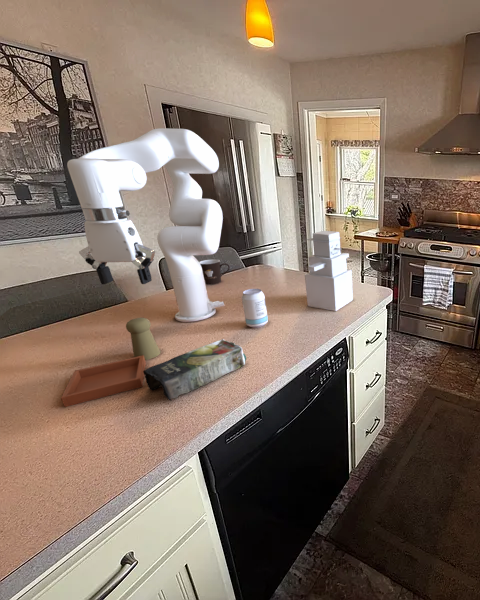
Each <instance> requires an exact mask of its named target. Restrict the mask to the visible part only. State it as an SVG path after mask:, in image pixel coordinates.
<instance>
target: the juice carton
mask: <svg viewBox="0 0 480 600" xmlns="http://www.w3.org/2000/svg"><path fill="white" fill-rule="evenodd" d="M246 361H247V355H246V354H245V353H244V352H243V348H242V346H240V345H239V344H235V342H233V341H228V340H225V339H224V338H221V339H219V340H215V341H213V342H211V343H209V344H208V343H207V344H205V345H202V346H200V347H198V348H194V349H192V350H189V351H187V352H184V353H182V354H180V355H177V356H174V357H172V358H170V359H168V360H166V361H163V362H159V363H157V364H155V365H153V366H150V367H147V368H145V370H144V371H143V373H144V378H145V381H146V385H147V388H148V390H149V391H155V390H156V389H159V388H161V389H162V393H163V396H165V398H167V400H169V401H173V400H172V399H177V398H179V396H180V395H183V394H188V393H190V392H192V391H194V390H197V389H199V388H200V387H203V386H206V385H208V384H209V383H212V382H214V381H216V380H218V379H220V378H221V377H223V376H226V375H227V374H229V373H233V372H235V371H236V370H238V369H240V368H241V367H243V366H244V365H246Z"/></svg>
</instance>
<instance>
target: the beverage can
mask: <svg viewBox="0 0 480 600" xmlns="http://www.w3.org/2000/svg"><path fill="white" fill-rule="evenodd" d="M241 303H242V307H243V308H242V310H243V315H244V321H245V325H246V326H247V327H250V328H253V329H255V328H257V329H258V328H260V327H263V326H265V325H266V324H267V323H268V321H269V319H268V311H267V305H266V304H267V303H266V297H265V294H264V292H263V291H262V289H260V288H249V289H245V290H244V291H242V294H241Z"/></svg>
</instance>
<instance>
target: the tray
mask: <svg viewBox="0 0 480 600" xmlns="http://www.w3.org/2000/svg"><path fill="white" fill-rule="evenodd" d="M146 365H147V360H145V358H144V355H142V356H138V357H134V356H133V357H129V358H126V359H120V360H116V361H111V362H106V363H102V364H97V365H93V366H89V367H84V368H80V369H76V370H74V371H73V373H72V375H71V377H70V379H69V381H68V383H67V385H66V387H65V389H64V392H63V393H62V395H61V397H60V399H61V401H62V403H63V405H64V407H65V408H66V407H70V406H74V405H79V404H81V403H86V402H89V401H93V400H94V401H95V400H97V399H102V398H106V397H109V396H112V395H116V394H120V393H124V392H129V391H132V390H135V389H140V388H143V385H144V378H145V375H144V373H143V371H144V370H146Z"/></svg>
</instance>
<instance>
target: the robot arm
mask: <svg viewBox="0 0 480 600" xmlns="http://www.w3.org/2000/svg"><path fill="white" fill-rule="evenodd" d="M66 164H67V165H66V167H67V171H68V173H69V176H70V179H71V181H72V184H73V187H74V190H75V194H76V196H77V198H78V202H79V205H80V207H81V210H82V213H83V216H84V219H85V221H84V223H83V224H84V232H85V237H86V242H87V246H86V247H84V248H83V249H81V250H79V251H78V254H79V255H80V256H81V257H82V258H83V259H84V260H85V262H86V264H88V265H90V266H91V268H92V269H93V270H96V273H97V276H98V280H99V282H100V285H106V284H109V283H112V282H113V281H114V278H113V275H112V271H111V269H110V267H109V266H108V265H107V264H108V263H132V264H133V265H134V266H136V267H137V269H136V272H137V275H138V278H139V281H140V284H141V285H146V284H149V283H151V282H152V275H151V271H150V267H151V264H152V263H153V262H154V259H155V255H156V251H155V250H154V249H152V248H150V247H147V246H145V245H144V244H143V242H142V238H141V237H140V234H139V232H138V230H137V228H136V226H135V224H134V223H133V221H132V220H131V219H128V217H129V216H130V211H129V210H127V209H125V207H124V204H123V201H122V197H121V194H120V192H133V191H134V192H135V191H139V190H141V189H143V188H144V187H145V186H146V184H147V179H148V177H147V174H146V173H152V172H156V171H158V170H159V169H161V168H162V167H164V168H165V170H166V172H167V173H168V175H169V178H170V179H171V182H172V185H173V187H172V194H171V200H170V205H169V211H168V217H169V220H170V222H171V223H172V224H173V225H172V226H166V227H163V228H161V230H159V232H158V233H157V237H156V240H157V244H158V246H159V249H160V251H161V253H162V255H163V257H164V260H165V262H166V266H167V269H168V273H169V276H170V280H171V283H172V284H171V285H172V288H173V292H174V296H175V301H176V304H177V308H178V312H176V313H175V314H174V318H175V320H176V321H178V322H182V323H191V322H198V321H202V320H206V319H209V318H210V317H213V316H214V315H215V314H216V312H217V310H216V309H217V308H223V307H225V302H224V301H220V300H216V301H212V300H211V299H210V298H209V295H208V291H207V284H206V283H205V280H204V276H203V271H202V267H201V265H200V263H199V262H200V261H199V260H198V259H197V258H196V257H195V256H211V255H215V254H216V253H217V252H218V250H219V248H220V243H221V235H222V229H223V221H224V220H223V219H224V217H223V215H224V214H223V210H222V207H221V206H220V204H219V203H218V201H216V200H214V199H213V198H212V199H211V198H203V190H202V187H201V185H199V184H198V182H197V181H196V180H195V179H194V178H193V177H192V176H191V175H190V174H194V175H195V174H197V175H199V174H202V175H204V174H205V175H212V174H215V173H217V171H218V170H219V167H220V162H219V157H218V155H217V153H216V152H215V151H214V149H213V148H212V147H211V146H210V145H209V144H208V143H207V142H206V141H205V140H204V139H203V138H201V136H199V135H198V134H196V133H195V132H194V131H192V130H190V129H186V128H170V127H169V128H168V127H167V128H165V127H163V128H162V127H159V128H153V129H151V130H148V131H147V132H145V133H144V134H142V135H140V136H139V137H136V138H135V139H133V140H130V141H124V142H121V143H117V144H114V145H109V146H105V147H100V148H97V149H94V150H91V151H89V152H87V153H85V154H83V155H81V156H80V157H78V158H73V159H72V158H71V159H69V160H68V161H67V163H66Z"/></svg>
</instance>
